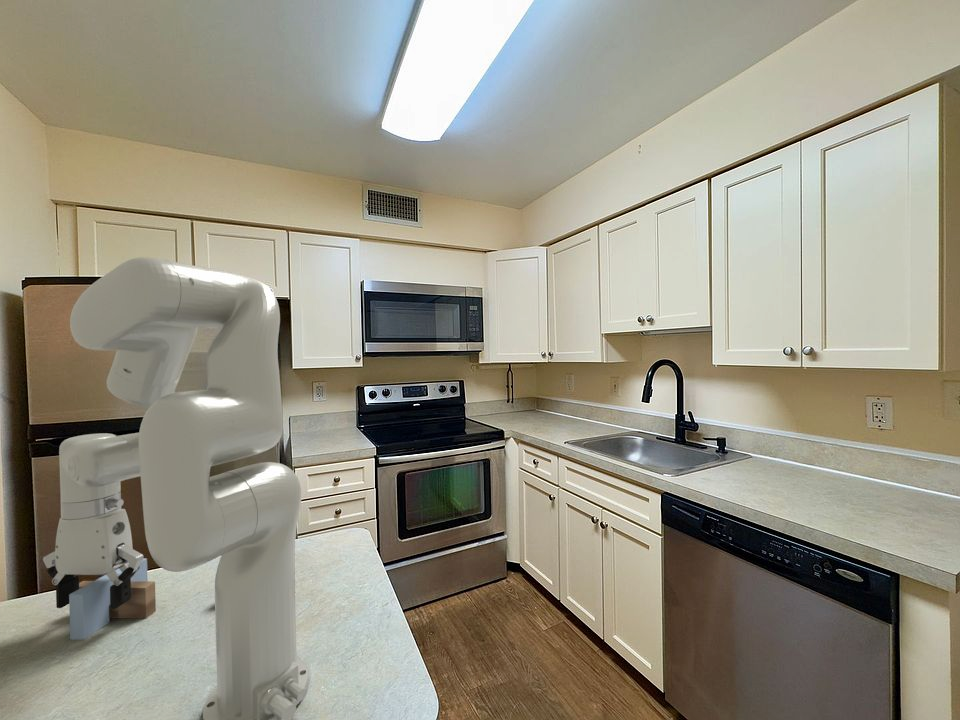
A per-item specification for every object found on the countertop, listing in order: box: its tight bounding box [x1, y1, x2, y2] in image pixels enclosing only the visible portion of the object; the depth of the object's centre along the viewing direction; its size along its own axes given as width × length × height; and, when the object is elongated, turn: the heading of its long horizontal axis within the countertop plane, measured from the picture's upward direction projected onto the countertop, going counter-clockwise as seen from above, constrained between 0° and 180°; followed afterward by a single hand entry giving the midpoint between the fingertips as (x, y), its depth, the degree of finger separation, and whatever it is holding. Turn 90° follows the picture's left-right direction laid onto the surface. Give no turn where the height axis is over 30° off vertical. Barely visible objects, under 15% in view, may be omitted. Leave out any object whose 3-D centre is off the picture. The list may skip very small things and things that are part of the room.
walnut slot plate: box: [79, 580, 157, 619], centre depth 73 cm, size 14×2×6 cm, turn 87°
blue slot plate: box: [68, 557, 149, 641], centre depth 72 cm, size 12×2×8 cm, turn 177°
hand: (94, 603), depth 69 cm, fingers open, 9 cm apart
